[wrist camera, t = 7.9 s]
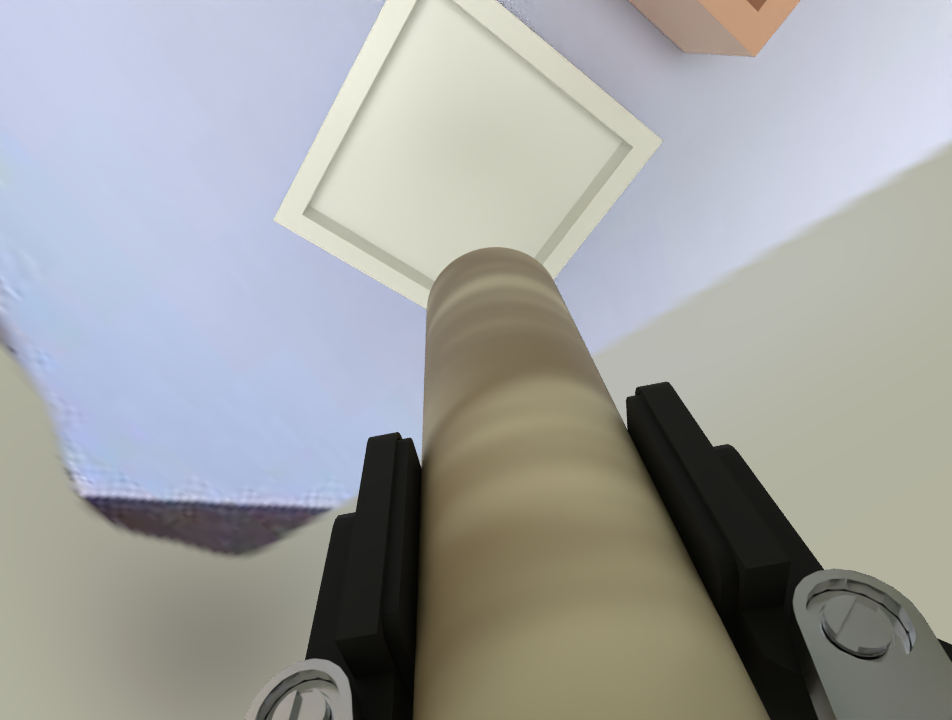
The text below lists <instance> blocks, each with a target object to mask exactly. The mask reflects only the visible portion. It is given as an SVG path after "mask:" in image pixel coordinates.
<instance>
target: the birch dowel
mask: <svg viewBox="0 0 952 720" xmlns="http://www.w3.org/2000/svg"><path fill="white" fill-rule="evenodd" d="M421 466H422V467H421V469H422V470H421V500H420V530H419V560H418V590H417V621H416V651H415V673H414V703H413V720H770V718H769V716H768V714H767V712H766V710H765V708H764V706H763V704H762V702H761V699H760V697H759V695H758V693H757V691H756V689H755V687H754V685H753V683H752V681H751V679H750V677H749V675H748V673H747V671H746V669H745V667H744V665H743V663H742V661H741V659H740V657H739V655H738V653H737V651H736V649H735V647H734V645H733V643H732V641H731V639H730V637H729V635H728V633H727V631H726V629H725V627H724V625H723V623H722V621H721V619H720V617H719V615H718V613H717V611H716V609H715V607H714V605H713V602H712V600H711V598H710V596H709V594H708V592H707V590H706V588H705V586H704V584H703V582H702V580H701V578H700V576H699V574H698V572H697V570H696V568H695V566H694V564H693V562H692V560H691V558H690V556H689V554H688V552H687V550H686V548H685V546H684V544H683V542H682V540H681V538H680V536H679V534H678V532H677V530H676V528H675V526H674V523H673V521H672V519H671V517H670V515H669V513H668V511H667V509H666V507H665V505H664V503H663V501H662V499H661V497H660V495H659V493H658V491H657V489H656V487H655V485H654V483H653V481H652V479H651V477H650V475H649V473H648V471H647V469H646V467H645V465H644V463H643V461H642V459H641V457H640V455H639V453H638V451H637V449H636V447H635V444H634V442H633V440H632V438H631V436H630V434H629V432H628V430H627V428H626V426H625V424H624V422H623V420H622V418H621V416H620V414H619V412H618V410H617V408H616V406H615V404H614V402H613V400H612V398H611V396H610V394H609V392H608V390H607V388H606V386H605V384H604V382H603V380H602V378H601V376H600V373H599V371H598V369H597V368H596V366H595V363H594V361H593V359H592V357H591V355H590V353H589V351H588V349H587V347H586V345H585V343H584V341H583V339H582V337H581V335H580V333H579V331H578V329H577V327H576V325H575V323H574V321H573V319H572V317H571V315H570V313H569V311H568V309H567V307H566V305H565V303H564V301H563V299H562V297H561V295H560V292H559V290H558V288H557V286H556V284H555V282H554V280H553V279H552V277H551V275H550V274H549V272H548V271H547V270H546V268H545V267H544V266H543V265H542V264H541V263H539V262H538V261H537V260H536V259H534V258H533V257H531V256H529V255H528V254H526V253H523V252H521V251H518V250H514V249H511V248H504V247H488V248H481V249H477V250H474V251H471V252H468V253H466V254H464V255H462V256H460V257H458V258H457V259H455V260H454V261H453V262H451V263H450V264H449V265H448V266H447V267H446V268H445V269H443V271H442V272H441V273H440V274H439V276H438V277H437V279H436V280H435V282H434V284H433V286H432V288H431V290H430V293H429V297H428V302H427V317H426V347H425V376H424V406H423V436H422V465H421Z"/></svg>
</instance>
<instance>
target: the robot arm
mask: <svg viewBox="0 0 952 720" xmlns="http://www.w3.org/2000/svg"><path fill="white" fill-rule="evenodd" d="M626 408H627V428H628V432H629V434H630V436H631V438H632V440H633V442H634V444H635V447H636V449H637V451H638V453H639V455H640V457H641V459H642V461H643V463H644V465H645V467H646V469H647V471H648V473H649V475H650V477H651V479H652V481H653V483H654V485H655V487H656V489H657V491H658V493H659V495H660V497H661V499H662V501H663V503H664V505H665V507H666V509H667V511H668V513H669V515H670V517H671V519H672V521H673V523H674V526H675V528H676V530H677V532H678V534H679V536H680V538H681V540H682V542H683V544H684V546H685V548H686V550H687V552H688V554H689V556H690V558H691V560H692V562H693V564H694V566H695V568H696V570H697V572H698V574H699V576H700V578H701V580H702V582H703V584H704V586H705V588H706V590H707V592H708V594H709V596H710V598H711V600H712V602H713V605H714V607H715V609H716V611H717V613H718V615H719V617H720V619H721V621H722V623H723V625H724V627H725V629H726V631H727V633H728V635H729V637H730V639H731V641H732V643H733V645H734V647H735V649H736V651H737V653H738V655H739V657H740V659H741V661H742V663H743V665H744V667H745V669H746V671H747V673H748V675H749V677H750V679H751V681H752V683H753V685H754V687H755V689H756V691H757V693H758V695H759V697H760V699H761V702H762V704H763V706H764V708H765V710H766V712H767V714H768V716H769V718H770V720H952V645H951V644H949V643H947V642H944V641H942V640H940V639H937V638H936V636H935V635H934V633H933V631H932V630H931V628H930V627H929V625H928V623H927V622H926V620H925V618H924V617H923V616H922V614H921V613H920V612H919V611H918V610H917V608H916V607H915V606H914V604H913V603H912V602H911V601H910V600H909V599H907V598H906V597H905V596H904V595H902V594H901V593H900V592H899V591H897V590H896V589H894V587H892V586H890V585H888V584H886V583H884V582H882V581H880V580H878V579H876V578H875V577H872V576H869V575H866V574H862V573H859V572H856V571H852V570H842V569H830V570H824V569H823V568H822V566H821V565H820V563H819V562H818V561H817V559H816V558H815V557H814V556H813V554H812V553H811V551H810V550H809V548H808V547H807V546H806V544H805V543H804V542H803V540H802V539H801V537H800V536H799V535H798V533H797V532H796V531H795V529H794V528H793V527H792V525H791V524H790V522H789V521H788V520H787V518H786V517H785V516H784V514H783V513H782V512H781V510H780V509H779V507H778V506H777V505H776V503H775V502H774V501H773V499H772V498H771V497H770V495H769V494H768V492H767V491H766V490H765V488H764V487H763V485H762V484H761V483H760V481H759V480H758V479H757V477H756V476H755V475H754V473H753V472H752V470H751V469H750V468H749V466H748V465H747V464H746V462H745V461H744V459H743V458H742V457H741V456H740V454H739V453H738V452H737V450H735V448H734V447H733V446H731V445H729V444H726V445H720V446H715V447H713V446H712V444H711V443H710V441H709V440H708V439H707V437H706V436H705V434H704V433H703V431H702V430H701V428H700V427H699V425H698V424H697V422H696V421H695V419H694V418H693V417H692V415H691V413H690V412H689V411H688V409H687V408H686V406H685V405H684V403H683V402H682V400H681V399H680V397H679V396H678V394H677V393H676V391H675V390H674V388H673V387H672V386H671V385H670V383H669V382H662V383H657V384H651V385H646V386H640V387H637V388H636V391H635V396H631V397H627V399H626ZM421 470H422V469H421V466H420V462H419V459H418V456H417V453H416V450H415V446H414V443H413V440H412V439H411V438H406V439H402V437H401V435H400V433H399V432H396V433H390V434H385V435H380V436H374V437H370V438H369V439H368V442H367V447H366V453H365V460H364V466H363V472H362V478H361V484H360V490H359V496H358V502H357V508H356V512H354V513H349V514H343V515H338V516H337V518H336V519H335V522H334V525H333V528H332V533H331V538H330V543H329V548H328V553H327V558H326V562H325V567H324V572H323V577H322V581H321V586H320V591H319V596H318V601H317V605H316V610H315V615H314V620H313V625H312V629H311V635H310V639H309V644H308V649H307V653H306V658H305V660H304V661H299V662H297V663H295V664H293V665H291V666H289V667H287V668H285V669H283V670H281V671H280V672H279V673H278V674H277V675H275V676H274V677H273V678H271V679H270V680H269V681H268V682H267V683H266V684H265V686H264V687H263V688H262V689H261V690H260V692H259V693H258V694H257V695H256V696H255V698H254V700H253V702H252V704H251V706H250V707H249V709H248V711H247V713H246V716H245V720H413V703H414V673H415V651H416V621H417V590H418V560H419V530H420V500H421Z"/></svg>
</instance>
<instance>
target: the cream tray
mask: <svg viewBox="0 0 952 720" xmlns="http://www.w3.org/2000/svg"><path fill="white" fill-rule="evenodd" d="M662 142H663V140H662V139H661V138H659V137H658V136H657V135H656V134H655V133H653V132H652V131H651V130H650V129H649V128H647V127H646V126H645V125H644V124H643V123H642V122H640V121H639V120H638V119H637V118H636V117H634V116H633V115H632V114H631V113H630V112H628V111H627V110H626V109H625V108H624V107H623V106H621V105H620V104H619V103H618V102H617V101H615V100H614V99H613V98H612V97H611V96H609V95H608V94H607V93H606V92H605V91H603V90H602V89H601V88H600V87H599V86H598V85H596V84H595V83H594V82H593V81H592V80H590V79H589V78H588V77H587V76H586V75H584V74H583V73H582V72H581V71H580V70H578V69H577V68H576V67H575V66H574V65H573V64H571V63H570V62H569V61H568V60H567V59H565V58H564V57H563V56H562V55H561V54H559V53H558V52H557V51H556V50H555V49H554V48H552V47H551V46H550V45H549V44H548V43H546V42H545V41H544V40H543V39H542V38H540V37H539V36H538V35H537V34H536V33H534V32H533V31H532V30H531V29H530V28H529V27H527V26H526V25H525V24H524V23H523V22H521V21H520V20H519V19H518V18H517V17H515V16H514V15H513V14H512V13H511V12H510V11H508V10H507V9H506V8H505V7H504V6H502V5H501V4H500V3H499V2H498V1H496V0H386V2H385V4H384V6H383V8H382V10H381V12H380V14H379V16H378V18H377V20H376V21H375V23H374V25H373V27H372V29H371V31H370V33H369V35H368V37H367V39H366V41H365V43H364V45H363V47H362V49H361V51H360V53H359V55H358V56H357V58H356V60H355V62H354V64H353V66H352V68H351V70H350V72H349V74H348V76H347V78H346V80H345V82H344V84H343V86H342V88H341V90H340V91H339V93H338V95H337V97H336V99H335V101H334V103H333V105H332V107H331V109H330V111H329V113H328V115H327V117H326V119H325V121H324V123H323V125H322V126H321V128H320V130H319V132H318V134H317V136H316V138H315V140H314V142H313V144H312V146H311V148H310V150H309V152H308V154H307V156H306V158H305V160H304V161H303V163H302V165H301V167H300V169H299V171H298V173H297V175H296V177H295V179H294V181H293V183H292V185H291V187H290V189H289V191H288V193H287V195H286V196H285V198H284V200H283V202H282V204H281V206H280V208H279V210H278V212H277V214H276V216H275V218H274V220H273V221H275V222H277V223H279V224H280V225H282V226H284V227H285V228H287V229H289V230H291V231H292V232H294V233H296V234H298V235H299V236H301V237H303V238H304V239H306V240H308V241H310V242H311V243H313V244H315V245H317V246H318V247H320V248H322V249H323V250H325V251H327V252H329V253H330V254H332V255H334V256H336V257H337V258H339V259H341V260H342V261H344V262H346V263H348V264H349V265H351V266H353V267H354V268H356V269H358V270H360V271H361V272H363V273H365V274H367V275H368V276H370V277H372V278H373V279H375V280H377V281H379V282H380V283H382V284H384V285H386V286H387V287H389V288H391V289H392V290H394V291H396V292H398V293H399V294H401V295H403V296H404V297H406V298H408V299H410V300H411V301H413V302H415V303H417V304H418V305H420V306H422V307H423V308H425V309H427V302H428V297H429V293H430V290H431V288H432V286H433V284H434V282H435V280H436V279H437V277H438V276H439V274H440V273H441V272H442V271H443V269H445V268H446V267H447V266H448V265H449V264H450V263H451V262H453V261H454V260H455V259H457V258H458V257H460V256H462V255H464V254H466V253H468V252H471V251H474V250H477V249H481V248H488V247H504V248H511V249H514V250H518V251H521V252H523V253H526V254H528V255H529V256H531V257H533V258H534V259H536V260H537V261H538V262H539V263H541V264H542V265H543V266H544V267H545V268H546V270H547V271H548V272H549V274H550V275H551V277H552V279H553V280H554V279H555V277H556V276H557V275H558V274H559V272H560V271H561V270H562V268H563V267H564V266H565V265H566V263H567V262H568V261H569V260H570V258H571V257H572V256H573V255H574V253H575V252H576V251H577V250H578V248H579V247H580V246H581V244H582V243H583V242H584V241H585V239H586V238H587V237H588V236H589V234H590V233H591V232H592V231H593V229H594V228H595V227H596V226H597V224H598V223H599V222H600V220H601V219H602V218H603V217H604V215H605V214H606V213H607V212H608V210H609V209H610V208H611V207H612V205H613V204H614V203H615V201H616V200H617V199H618V198H619V196H620V195H621V194H622V193H623V191H624V190H625V189H626V188H627V186H628V185H629V184H630V183H631V181H632V180H633V179H634V177H635V176H636V175H637V174H638V172H639V171H640V170H641V169H642V167H643V166H644V165H645V164H646V162H647V161H648V160H649V159H650V157H651V156H652V155H653V153H654V152H655V151H656V150H657V148H658V147H659V146H660V145H661V143H662Z"/></svg>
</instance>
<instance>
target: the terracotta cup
mask: <svg viewBox="0 0 952 720" xmlns="http://www.w3.org/2000/svg"><path fill="white" fill-rule="evenodd" d="M628 1H629V2H630V3H631V4H632V5H633V6H635V7H636V8H637V9H638V10H639V11H640V12H641V13H642V14H643V15H644V16H645V17H646V18H647V19H648V20H650V21H651V22H652V23H653V24H654V25H655V26H656V27H657V28H658V29H659V30H660V31H661V32H662V33H663V34H665V35H666V36H667V37H668V38H669V39H670V40H671V41H672V42H673V43H674V44H675V45H676V46H677V47H678V48H680V49H681V50H682V51H683V52H684V53H700V54H717V55H733V56H749V57H755V56H756V55H757V53H758V52H759V51H760V50H761V49H762V47H763V46H764V45H765V44H766V42H767V41H768V40H769V39H770V37H771V36H772V35H773V34H774V32H775V31H776V30H777V29H778V28H779V26H780V25H781V24H782V23H783V21H784V20H785V19H786V18H787V16H788V15H789V14H790V13H791V11H792V10H793V9H794V8H795V7H796V5H797V4H798V3H799V2H800V0H628Z"/></svg>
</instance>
